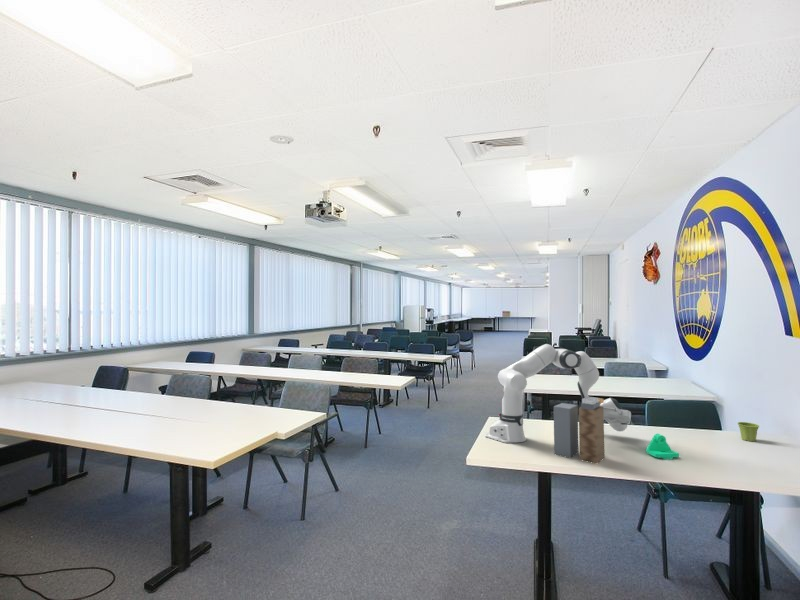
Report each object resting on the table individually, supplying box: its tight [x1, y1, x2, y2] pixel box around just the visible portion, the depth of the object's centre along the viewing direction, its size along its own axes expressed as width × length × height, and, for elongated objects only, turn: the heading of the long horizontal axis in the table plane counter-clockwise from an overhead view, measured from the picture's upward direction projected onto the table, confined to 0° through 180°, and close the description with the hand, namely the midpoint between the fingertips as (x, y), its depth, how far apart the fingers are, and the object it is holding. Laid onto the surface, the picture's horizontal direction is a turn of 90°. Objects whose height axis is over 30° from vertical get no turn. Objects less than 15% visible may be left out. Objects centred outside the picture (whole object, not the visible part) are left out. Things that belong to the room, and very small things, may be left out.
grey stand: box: [553, 402, 580, 458], centre depth 215 cm, size 8×11×24 cm
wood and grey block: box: [580, 396, 605, 410], centre depth 210 cm, size 6×20×4 cm, turn 137°
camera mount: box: [645, 433, 680, 460], centre depth 209 cm, size 12×8×10 cm, turn 93°
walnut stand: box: [578, 406, 605, 464], centre depth 206 cm, size 8×11×25 cm
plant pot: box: [737, 421, 760, 442], centre depth 234 cm, size 9×9×9 cm
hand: (606, 407), depth 224 cm, fingers open, 8 cm apart
